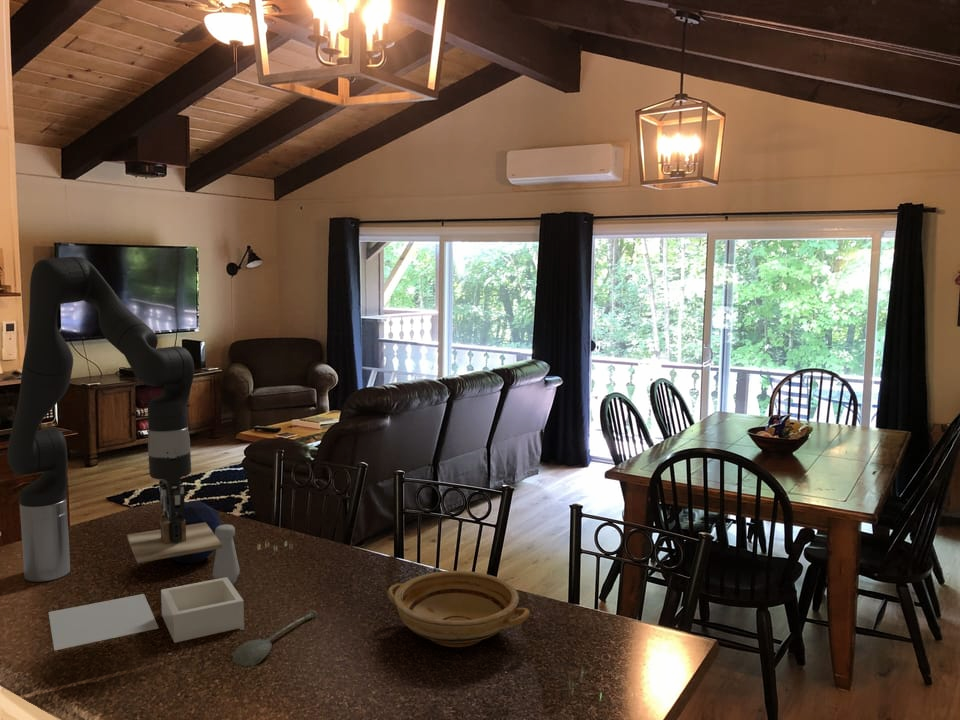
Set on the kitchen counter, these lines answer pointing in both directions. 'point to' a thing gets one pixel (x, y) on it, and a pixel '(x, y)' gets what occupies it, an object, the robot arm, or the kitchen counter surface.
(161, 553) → the lid
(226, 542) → the salt shaker
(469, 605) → the ceramic bowl
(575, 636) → the kitchen counter surface
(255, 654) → the soupspoon
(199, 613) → the white open box
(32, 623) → the kitchen counter surface
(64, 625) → the tray
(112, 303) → the robot arm
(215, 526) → the decorative orb
